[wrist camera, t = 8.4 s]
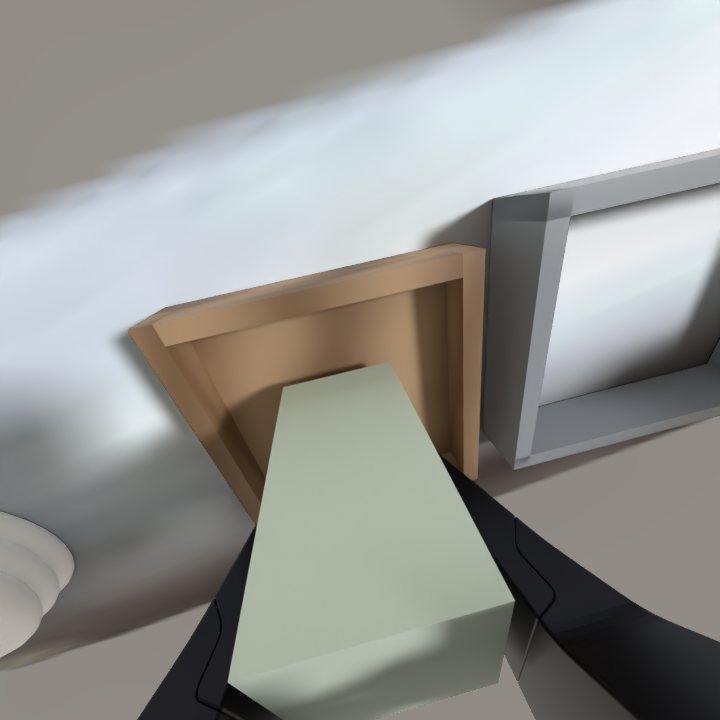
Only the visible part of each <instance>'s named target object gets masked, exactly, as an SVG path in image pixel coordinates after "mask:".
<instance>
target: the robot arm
mask: <svg viewBox="0 0 720 720" xmlns="http://www.w3.org/2000/svg"><path fill="white" fill-rule="evenodd" d="M437 453H438V452H437ZM438 455H439V457H440V458H441V460H442V462H443V464H444V466H445V468H446V470H447V472H448V474H449V476H450V478H451V479H452V481H453V483H454V485H455V487H456V489H457V491H458V493H459V495H460V497H461V499H462V501H463V502H464V504H465V506H466V508H467V510H468V512H469V514H470V516H471V518H472V520H473V522H474V523H475V525H476V527H477V529H478V531H479V533H480V535H481V537H482V539H483V541H484V543H485V544H486V546H487V548H488V550H489V552H490V554H491V556H492V558H493V560H494V562H495V564H496V566H497V567H498V569H499V571H500V573H501V575H502V577H503V579H504V581H505V583H506V585H507V587H508V588H509V590H510V592H511V594H512V596H513V598H514V600H515V603H514V608H513V613H512V618H511V623H510V628H509V632H508V637H507V642H506V647H505V652H504V655H505V657H506V659H507V661H508V663H509V665H510V667H511V669H512V671H513V673H514V675H515V677H516V680H517V681H519V682H518V684H519V686H520V688H521V690H522V692H523V694H524V696H525V698H526V701H527V703H528V705H529V707H530V709H531V711H532V713H533V715H534V717H535V719H536V720H720V642H718V641H716V640H713V639H711V638H709V637H706V636H704V635H701V634H699V633H696V632H694V631H691V630H689V629H687V628H684V627H682V626H679V625H677V624H675V623H672V622H670V621H668V620H665V619H663V618H661V617H659V616H657V615H655V614H653V613H651V612H649V611H648V610H646V609H644V608H642V607H641V606H639V605H637V604H636V603H634V602H632V601H631V600H629V599H628V598H627V597H625V596H624V595H622V594H620V593H619V592H618V591H616V590H615V589H614V588H612V587H611V586H609V585H608V584H606V583H605V582H603V581H602V580H601V579H599V578H598V577H596V576H595V575H593V574H592V573H591V572H589V571H588V570H586V569H585V568H583V567H582V566H580V565H579V564H578V563H576V562H575V561H573V560H572V559H570V558H569V557H567V556H566V555H565V554H563V553H562V552H561V551H559V550H558V549H557V548H555V547H553V546H552V545H551V544H550V543H548V542H547V541H546V540H544V539H543V538H542V537H540V536H539V535H538V534H537V533H535V532H534V531H533V530H532V529H530V528H529V527H528V526H527V525H525V524H524V523H523V522H522V521H521V520H519V519H518V518H517V517H514V515H513V514H512V513H511V512H510V511H508V510H507V509H506V508H505V507H504V506H502V505H501V504H500V503H499V502H497V501H496V500H495V499H494V498H493V497H491V496H490V495H489V494H488V493H487V492H485V491H484V490H483V489H482V488H480V487H479V486H478V485H477V484H476V483H474V482H473V481H472V480H471V479H470V478H468V477H467V476H466V475H465V474H464V473H462V472H461V471H460V470H459V469H457V468H456V467H455V466H454V465H453V464H451V463H450V462H449V461H448V460H447V459H445V458H444V457H443V456H442V455H441V454H439V453H438ZM257 523H258V522H257ZM256 529H257V524H256V525H255V527H254V529H253V531H252V532H251V534H250V536H249V538H248V539H247V541H246V543H245V545H244V546H243V548H242V550H241V552H240V553H239V555H238V557H237V559H236V560H235V562H234V564H233V566H232V567H231V569H230V571H229V573H228V574H227V576H226V578H225V580H224V581H223V583H222V585H221V587H220V588H219V590H218V592H217V594H216V595H215V599H213V600H212V602H211V604H210V606H209V607H208V609H207V611H206V613H205V614H204V616H203V618H202V619H201V621H200V623H199V624H198V626H197V628H196V630H195V631H194V633H193V635H192V636H191V638H190V640H189V641H188V643H187V644H186V646H185V648H184V649H183V651H182V652H181V654H180V655H179V657H178V659H177V660H176V661H175V663H174V665H173V666H172V668H171V669H170V671H169V672H168V674H167V675H166V677H165V678H164V680H163V681H162V683H161V684H160V686H159V687H158V689H157V690H156V692H155V694H154V695H153V697H152V698H151V700H150V701H149V703H148V704H147V706H146V707H145V709H144V710H143V712H142V713H141V715H140V716H139V718H138V719H137V720H283V719H281V718H280V717H278V716H277V715H275V714H274V713H272V712H271V711H269V710H268V709H266V708H265V707H263V706H262V705H260V704H259V703H257V702H256V701H254V700H253V699H251V698H250V697H249V696H247V695H246V694H244V693H243V692H241V691H240V690H238V689H237V688H235V687H234V686H232V685H231V684H229V683H228V678H229V672H230V667H231V662H232V656H233V651H234V646H235V640H236V635H237V630H238V624H239V619H240V614H241V608H242V603H243V598H244V592H245V587H246V582H247V577H248V571H249V566H250V561H251V555H252V550H253V545H254V539H255V534H256Z"/></svg>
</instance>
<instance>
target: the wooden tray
mask: <svg viewBox="0 0 720 720" xmlns="http://www.w3.org/2000/svg"><path fill="white" fill-rule="evenodd" d="M485 255H486V249H485V248H480V247H474V246H468V245H463V244H457V243H449V244H445V245H440V246H436V247H431V248H427V249H422V250H418V251H414V252H409V253H405V254H400V255H396V256H391V257H387V258H383V259H378V260H374V261H369V262H365V263H360V264H356V265H352V266H347V267H343V268H338V269H334V270H329V271H325V272H321V273H316V274H312V275H307V276H303V277H298V278H294V279H290V280H285V281H281V282H276V283H272V284H267V285H263V286H259V287H254V288H250V289H245V290H241V291H236V292H232V293H228V294H223V295H219V296H214V297H210V298H205V299H201V300H197V301H192V302H188V303H183V304H179V305H174V306H170V307H166V308H164V309H162V310H160V311H159V312H157V313H155V314H154V315H152V316H150V317H148V318H147V319H145V320H143V321H142V322H140V323H138V324H137V325H135V326H133V327H132V328H130V329H128V330H127V331H128V333H129V334H130V336H131V337H132V339H133V340H134V342H135V343H136V345H137V346H138V348H139V349H140V351H141V352H142V354H143V355H144V357H145V358H146V360H147V361H148V363H149V364H150V366H151V367H152V369H153V370H154V372H155V373H156V375H157V376H158V378H159V380H160V381H161V383H162V384H163V386H164V387H165V389H166V390H167V392H168V393H169V395H170V396H171V398H172V399H173V401H174V402H175V404H176V405H177V407H178V408H179V410H180V411H181V413H182V414H183V416H184V417H185V419H186V420H187V422H188V423H189V425H190V426H191V428H192V430H193V431H194V433H195V434H196V436H197V437H198V439H199V440H200V442H201V443H202V445H203V446H204V448H205V449H206V451H207V452H208V454H209V455H210V457H211V458H212V460H213V461H214V463H215V464H216V466H217V467H218V469H219V470H220V472H221V473H222V475H223V477H224V478H225V480H226V481H227V483H228V484H229V486H230V487H231V489H232V490H233V492H234V493H235V495H236V496H237V498H238V499H239V501H240V502H241V504H242V505H243V507H244V508H245V510H246V511H247V513H248V514H249V516H250V517H251V519H252V520H253V522H254V523H255V525H256V524H257V522H258V518H259V513H260V507H261V502H262V497H263V492H264V486H265V481H266V476H267V470H268V465H269V460H270V454H271V449H272V444H273V438H274V433H275V428H276V422H277V417H278V412H279V406H280V401H281V396H282V391H283V387H287V386H291V385H295V384H299V383H303V382H307V381H311V380H316V379H320V378H324V377H328V376H332V375H336V374H340V373H344V372H349V371H353V370H357V369H361V368H365V367H369V366H373V365H377V364H382V363H386V362H390V363H391V365H392V367H393V369H394V371H395V372H396V374H397V376H398V378H399V380H400V382H401V384H402V386H403V388H404V390H405V392H406V393H407V395H408V397H409V399H410V401H411V403H412V405H413V407H414V409H415V411H416V413H417V414H418V416H419V418H420V420H421V422H422V424H423V426H424V428H425V430H426V432H427V434H428V436H429V437H430V439H431V441H432V443H433V445H434V447H435V449H436V451H437V452H438V453H439V454H441V455H442V456H443V457H444V458H445V459H447V460H448V461H449V462H450V463H451V464H453V465H454V466H455V467H456V468H457V469H459V470H460V471H461V472H462V473H464V474H465V475H466V476H467V477H468V478H470V479H471V480H475V479H478V453H479V424H480V396H481V368H482V340H483V312H484V283H485Z"/></svg>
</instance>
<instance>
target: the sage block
mask: <svg viewBox="0 0 720 720" xmlns="http://www.w3.org/2000/svg"><path fill="white" fill-rule="evenodd" d="M514 603H515V600H514V598H513V596H512V594H511V592H510V590H509V588H508V587H507V585H506V583H505V581H504V579H503V577H502V575H501V573H500V571H499V569H498V567H497V566H496V564H495V562H494V560H493V558H492V556H491V554H490V552H489V550H488V548H487V546H486V544H485V543H484V541H483V539H482V537H481V535H480V533H479V531H478V529H477V527H476V525H475V523H474V522H473V520H472V518H471V516H470V514H469V512H468V510H467V508H466V506H465V504H464V502H463V501H462V499H461V497H460V495H459V493H458V491H457V489H456V487H455V485H454V483H453V481H452V479H451V478H450V476H449V474H448V472H447V470H446V468H445V466H444V464H443V462H442V460H441V458H440V457H439V455H438V453H437V451H436V449H435V447H434V445H433V443H432V441H431V439H430V437H429V436H428V434H427V432H426V430H425V428H424V426H423V424H422V422H421V420H420V418H419V416H418V414H417V413H416V411H415V409H414V407H413V405H412V403H411V401H410V399H409V397H408V395H407V393H406V392H405V390H404V388H403V386H402V384H401V382H400V380H399V378H398V376H397V374H396V372H395V371H394V369H393V367H392V365H391V363H390V362H386V363H382V364H377V365H373V366H369V367H365V368H361V369H357V370H353V371H349V372H344V373H340V374H336V375H332V376H328V377H324V378H320V379H316V380H311V381H307V382H303V383H299V384H295V385H291V386H287V387H283V391H282V396H281V401H280V406H279V412H278V417H277V422H276V428H275V433H274V438H273V444H272V449H271V454H270V460H269V465H268V470H267V476H266V481H265V486H264V492H263V497H262V502H261V507H260V513H259V518H258V523H257V529H256V534H255V539H254V545H253V550H252V555H251V561H250V566H249V571H248V577H247V582H246V587H245V592H244V598H243V603H242V608H241V614H240V619H239V624H238V630H237V635H236V640H235V646H234V651H233V656H232V662H231V667H230V672H229V678H228V683H229V684H231V685H232V686H234V687H235V688H237V689H238V690H240V691H241V692H243V693H244V694H246V695H247V696H249V697H250V698H251V699H253V700H254V701H256V702H257V703H259V704H260V705H262V706H263V707H265V708H266V709H268V710H269V711H271V712H272V713H274V714H275V715H277V716H278V717H280V718H281V719H283V720H374V719H378V718H381V717H385V716H388V715H391V714H395V713H398V712H402V711H405V710H408V709H412V708H415V707H419V706H422V705H425V704H429V703H432V702H435V701H439V700H442V699H445V698H448V697H452V696H456V695H459V694H463V693H466V692H469V691H472V690H476V689H479V688H483V687H486V686H489V685H493V684H496V683H498V680H499V676H500V671H501V666H502V661H503V657H504V652H505V647H506V642H507V637H508V632H509V628H510V623H511V618H512V613H513V608H514Z"/></svg>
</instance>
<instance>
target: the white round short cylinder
mask: <svg viewBox="0 0 720 720" xmlns="http://www.w3.org/2000/svg"><path fill="white" fill-rule="evenodd" d="M73 571H74V560H73V556H72V554H71V552H70V551H69V549H68V547H67V546H66V545H65V544H64V543H63V542H62V541H61V540H60V539H59V538H57V537H56V536H55V535H53V534H52V533H50V532H49V531H47V530H46V529H44V528H42V527H40V526H38V525H36V524H34V523H32V522H30V521H27V520H25V519H22V518H19V517H17V516H14V515H11V514H8V513H4V512H0V657H2V656H4V655H6V654H8V653H10V652H12V651H13V650H15V649H17V648H18V647H20V646H21V645H23V644H24V643H25V642H26V641H27V640H28V639H29V638H30V637H31V636H32V635H33V634H34V633H35V632H36V630H37V629H38V627H39V625H40V622H41V619H42V617H43V616H44V615H45V614H46V613H47V612H48V611H49V610H50V609H51V608H52V606H53V605H54V603H55V602H56V599H57V597H58V594H59V592H60V591H61V590H62V589H63V588H64V587H65V586H66V585H67V584H68V583H69V581H70V579H71V577H72V574H73Z"/></svg>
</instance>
